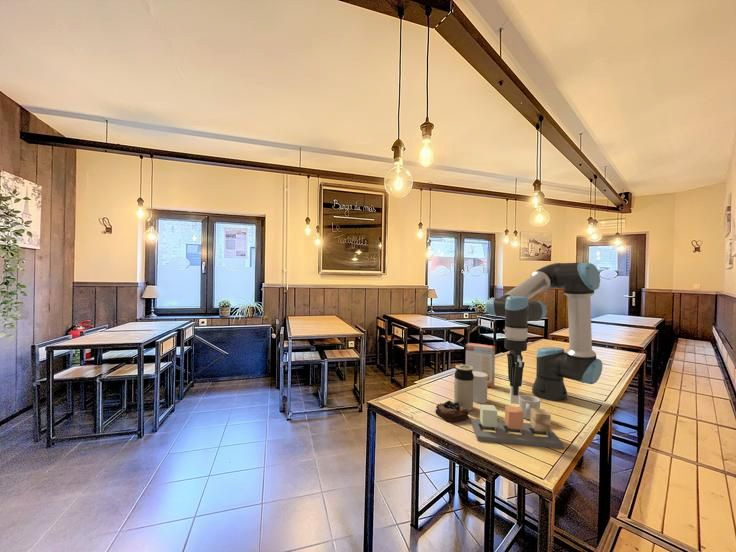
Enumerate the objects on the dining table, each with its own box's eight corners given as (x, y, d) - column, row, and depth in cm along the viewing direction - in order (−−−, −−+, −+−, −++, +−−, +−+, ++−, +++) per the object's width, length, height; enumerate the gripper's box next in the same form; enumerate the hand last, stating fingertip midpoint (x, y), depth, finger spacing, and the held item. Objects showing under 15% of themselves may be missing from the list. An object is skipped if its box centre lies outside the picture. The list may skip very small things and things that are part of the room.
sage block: (493, 421, 122) (494, 405, 122) (496, 427, 117) (497, 410, 117) (479, 420, 123) (480, 404, 123) (482, 426, 118) (482, 409, 118)
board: (547, 428, 123) (547, 424, 123) (563, 448, 110) (563, 443, 110) (470, 422, 128) (471, 418, 128) (477, 440, 114) (477, 436, 114)
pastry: (449, 425, 126) (450, 410, 126) (431, 412, 137) (432, 398, 137) (472, 420, 130) (472, 405, 130) (452, 408, 141) (453, 395, 141)
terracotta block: (518, 423, 121) (519, 407, 121) (523, 429, 116) (523, 413, 116) (504, 422, 121) (505, 406, 121) (508, 428, 116) (508, 411, 116)
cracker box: (494, 385, 172) (495, 345, 172) (491, 388, 167) (492, 347, 167) (468, 379, 180) (469, 342, 180) (464, 382, 175) (465, 344, 175)
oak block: (544, 425, 119) (545, 409, 119) (550, 432, 114) (550, 415, 114) (530, 424, 120) (530, 408, 120) (535, 430, 115) (535, 413, 115)
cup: (538, 426, 125) (539, 406, 125) (516, 421, 129) (516, 401, 129) (540, 416, 134) (541, 397, 134) (519, 411, 139) (520, 393, 139)
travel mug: (476, 407, 142) (476, 366, 142) (467, 413, 136) (468, 370, 136) (459, 402, 147) (460, 363, 147) (450, 407, 141) (451, 366, 141)
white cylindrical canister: (488, 403, 147) (488, 377, 146) (469, 402, 148) (470, 376, 148) (485, 397, 154) (486, 372, 154) (467, 395, 156) (468, 370, 156)
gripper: (500, 334, 125) (499, 395, 125) (509, 341, 112) (508, 409, 113) (521, 335, 124) (519, 397, 124) (532, 342, 111) (531, 411, 111)
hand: (514, 402), depth 118 cm, fingers closed
